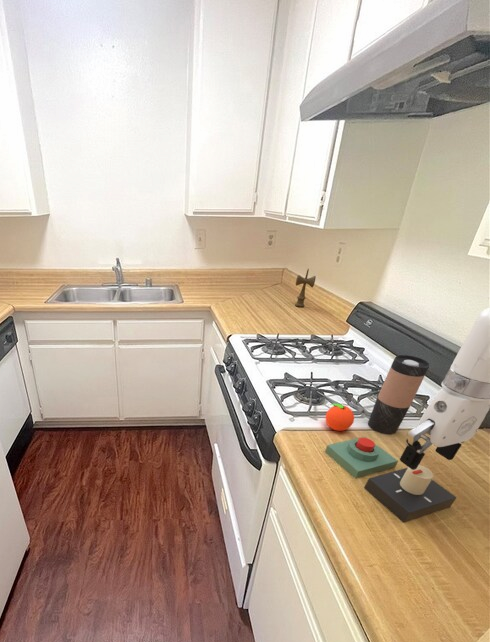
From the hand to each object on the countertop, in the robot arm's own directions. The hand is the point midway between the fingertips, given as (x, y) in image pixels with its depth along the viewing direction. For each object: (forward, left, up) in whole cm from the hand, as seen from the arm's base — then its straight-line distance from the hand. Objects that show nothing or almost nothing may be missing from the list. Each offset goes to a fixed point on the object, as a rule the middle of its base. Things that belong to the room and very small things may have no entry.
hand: (425, 460), depth 68 cm
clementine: (-4, -26, -11) cm, 28 cm away
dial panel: (0, 0, -10) cm, 10 cm away
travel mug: (-17, -22, -11) cm, 30 cm away
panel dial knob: (0, 0, -7) cm, 7 cm away
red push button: (0, -13, -7) cm, 15 cm away
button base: (0, -13, -10) cm, 17 cm away
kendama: (-72, -130, -11) cm, 149 cm away
